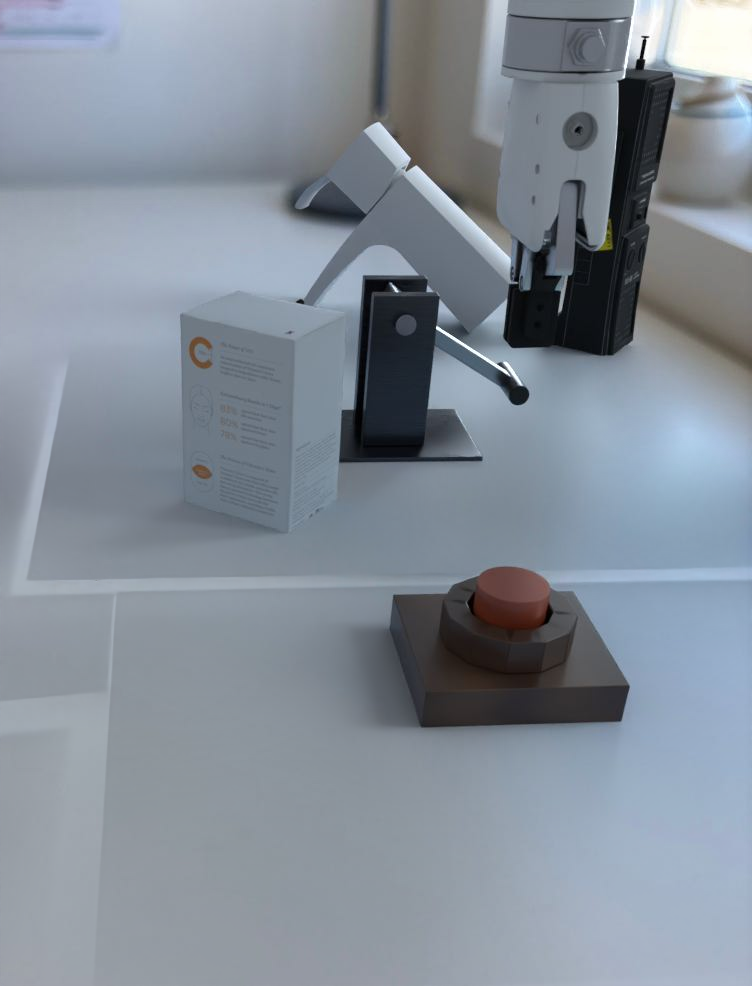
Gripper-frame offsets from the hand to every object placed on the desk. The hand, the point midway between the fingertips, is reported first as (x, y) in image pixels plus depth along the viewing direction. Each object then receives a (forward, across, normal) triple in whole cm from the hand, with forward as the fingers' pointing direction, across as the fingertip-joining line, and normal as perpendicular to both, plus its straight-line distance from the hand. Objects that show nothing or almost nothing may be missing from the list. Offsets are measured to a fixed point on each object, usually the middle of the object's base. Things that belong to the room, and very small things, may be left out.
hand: (527, 343), depth 79 cm
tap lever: (+1, 0, +6) cm, 6 cm away
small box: (+8, -10, +20) cm, 23 cm away
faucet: (+8, +31, +2) cm, 32 cm away
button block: (+8, -29, +8) cm, 31 cm away
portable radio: (+8, +21, -12) cm, 26 cm away
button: (+4, -29, +8) cm, 30 cm away
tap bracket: (+8, 0, +10) cm, 12 cm away
